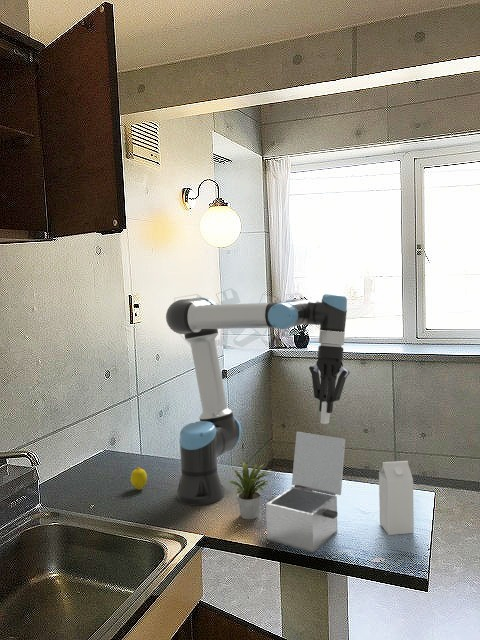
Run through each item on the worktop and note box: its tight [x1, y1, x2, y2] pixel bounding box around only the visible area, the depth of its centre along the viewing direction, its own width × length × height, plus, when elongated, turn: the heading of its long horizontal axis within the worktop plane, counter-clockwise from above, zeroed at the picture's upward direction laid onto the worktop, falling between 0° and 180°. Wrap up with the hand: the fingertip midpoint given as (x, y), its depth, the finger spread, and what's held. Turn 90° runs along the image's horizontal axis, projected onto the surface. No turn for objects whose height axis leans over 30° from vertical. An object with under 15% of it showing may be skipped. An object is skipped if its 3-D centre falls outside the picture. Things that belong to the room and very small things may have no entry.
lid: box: [291, 431, 346, 496], centre depth 160 cm, size 15×16×3 cm
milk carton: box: [378, 460, 415, 536], centre depth 154 cm, size 7×7×19 cm
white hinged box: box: [265, 486, 339, 554], centre depth 152 cm, size 20×14×10 cm
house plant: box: [228, 461, 275, 520], centre depth 165 cm, size 14×14×16 cm
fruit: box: [130, 466, 148, 491], centre depth 191 cm, size 6×6×8 cm
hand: (324, 423), depth 169 cm, fingers closed
